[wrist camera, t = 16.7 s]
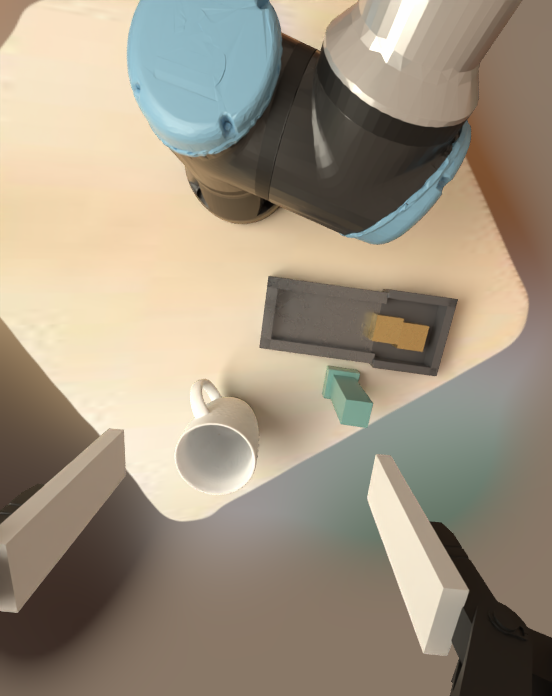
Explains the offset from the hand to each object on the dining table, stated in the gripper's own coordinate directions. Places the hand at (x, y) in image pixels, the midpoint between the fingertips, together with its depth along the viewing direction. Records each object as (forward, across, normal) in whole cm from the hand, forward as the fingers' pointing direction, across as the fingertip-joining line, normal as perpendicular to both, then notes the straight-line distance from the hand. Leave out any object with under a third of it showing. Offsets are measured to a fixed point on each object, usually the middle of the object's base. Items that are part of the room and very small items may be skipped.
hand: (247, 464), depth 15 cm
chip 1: (+33, +17, +3) cm, 38 cm away
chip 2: (+33, +21, +2) cm, 40 cm away
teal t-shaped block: (+34, +12, -7) cm, 36 cm away
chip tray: (+34, +21, +2) cm, 40 cm away
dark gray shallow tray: (+34, +7, +3) cm, 35 cm away
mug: (+34, -6, -14) cm, 37 cm away
